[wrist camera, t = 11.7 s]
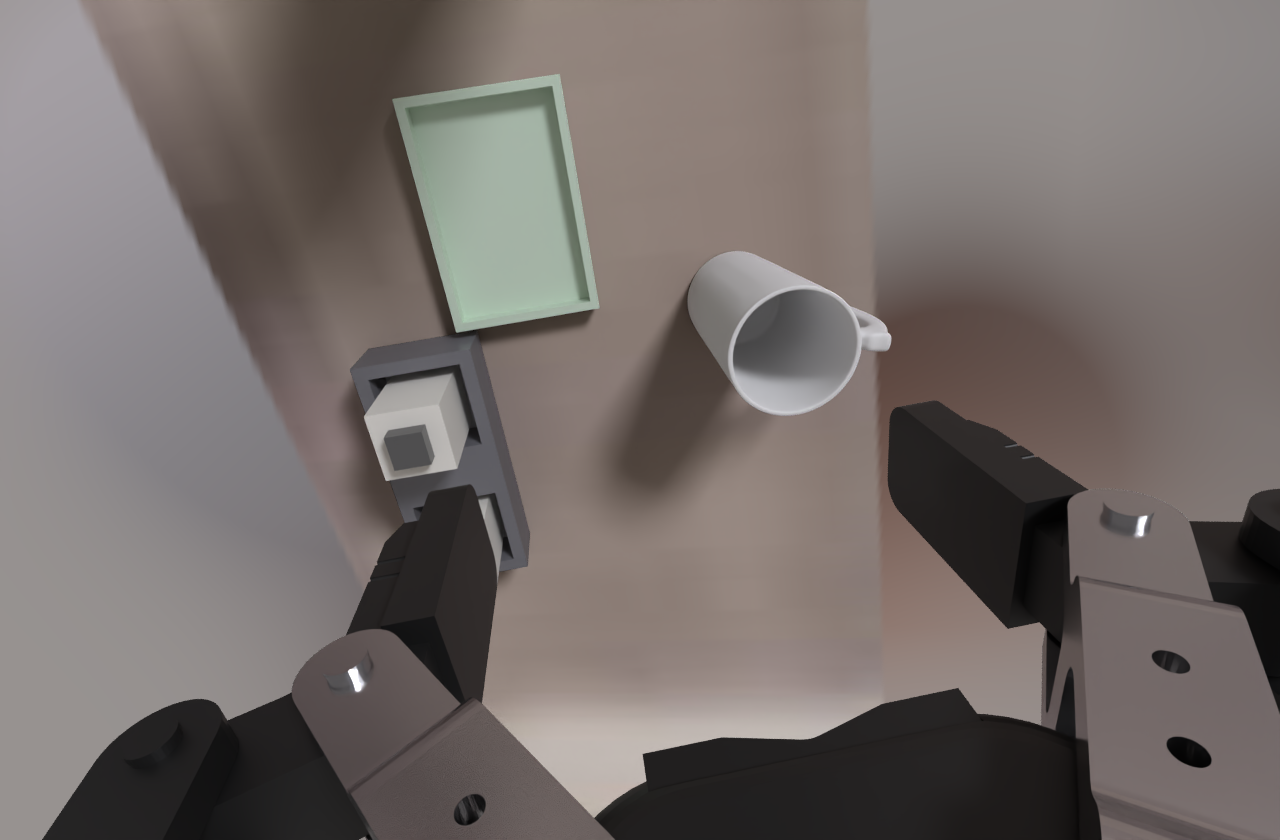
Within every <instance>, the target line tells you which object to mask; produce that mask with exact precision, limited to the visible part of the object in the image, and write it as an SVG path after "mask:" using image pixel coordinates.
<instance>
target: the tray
mask: <svg viewBox="0 0 1280 840" xmlns="http://www.w3.org/2000/svg"><path fill="white" fill-rule="evenodd" d="M392 100H393V104H394V108H395V111H396V115H397V119H398V122H399V126H400V129H401V133H402V137H403V140H404V144H405V148H406V151H407V155H408V159H409V162H410V166H411V170H412V173H413V177H414V180H415V184H416V188H417V191H418V195H419V199H420V202H421V206H422V210H423V213H424V217H425V221H426V224H427V228H428V231H429V235H430V239H431V242H432V246H433V250H434V253H435V257H436V261H437V264H438V268H439V272H440V275H441V279H442V282H443V286H444V290H445V293H446V297H447V301H448V304H449V308H450V312H451V315H452V319H453V322H454V326H455V330H456V333H457V332H463V331H469V330H474V329H480V328H486V327H492V326H498V325H504V324H510V323H516V322H521V321H527V320H533V319H539V318H545V317H551V316H557V315H563V314H568V313H574V312H580V311H586V310H592V309H598V308H599V302H598V296H597V290H596V284H595V278H594V273H593V267H592V261H591V255H590V249H589V243H588V238H587V232H586V226H585V220H584V214H583V208H582V202H581V197H580V191H579V185H578V179H577V173H576V167H575V161H574V156H573V150H572V144H571V138H570V132H569V126H568V120H567V115H566V109H565V103H564V97H563V91H562V85H561V80H560V74H556V75H550V76H543V77H536V78H529V79H523V80H516V81H509V82H503V83H496V84H489V85H482V86H476V87H469V88H462V89H456V90H449V91H442V92H436V93H429V94H422V95H415V96H409V97H402V98H395V99H392Z"/></svg>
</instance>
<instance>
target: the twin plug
mask: <svg viewBox="0 0 1280 840" xmlns="http://www.w3.org/2000/svg"><path fill="white" fill-rule="evenodd" d="M477 498H478V501H479V504H480V508H481V511H482V515H483V518H484V522H485V525H486V528H487V532H488V535H489V539H490V542H491V545H492V549H493V552H494V557H495V562H496V569H497V583H498V575H499V568H500V560H501V552H502V545H503V537H504V530H505V529H504V525H503V522H502V518H501V515H500V511H499V507H498V504H497V500H496V497H495V493H492V494H486V495H481V496H477Z"/></svg>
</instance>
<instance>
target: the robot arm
mask: <svg viewBox="0 0 1280 840" xmlns="http://www.w3.org/2000/svg"><path fill="white" fill-rule="evenodd" d="M888 487H889V491H890V495H891V498H892V500H893V502H894V505H895V506H896V508H897V509H898V510H899V512H900V513H901V514H902V515H903V516H904V517H905V518H906V519H907V520H908V522H909V523H910V524H911V525H912V526H913V527H914V528H915V529H916V530H917V531H918V532H919V533H920V534H921V535H922V537H923V538H924V539H925V540H926V541H927V542H928V543H929V544H930V545H931V546H932V547H933V549H935V551H936V552H937V553H938V554H939V555H940V556H941V557H942V558H943V559H944V560H945V561H946V563H947V564H948V565H949V566H950V567H951V568H952V569H953V570H954V571H955V572H956V573H957V574H958V576H959V577H960V578H961V579H962V580H963V581H964V582H965V583H966V584H967V585H968V586H969V587H970V588H971V590H973V592H974V593H975V594H976V595H977V596H978V597H979V598H980V599H981V600H982V601H983V603H984V604H985V605H986V606H987V607H988V608H989V609H990V610H991V611H992V612H993V613H994V614H995V615H996V616H997V618H998V619H999V620H1000V621H1001V622H1002V623H1003V624H1004V625H1005V626H1006V627H1007V628H1008V629H1009V628H1013V627H1018V626H1023V625H1028V624H1033V623H1037V622H1040V623H1041V624H1042V625H1043V626H1044V627H1045V628H1046V629H1045V635H1044V641H1043V646H1042V705H1041V706H1042V707H1041V725H1038V724H1034V723H1031V722H1027V721H1023V720H1018V719H1014V718H1010V717H1003V716H995V715H988V714H977V713H976V712H975V710H974V709H973V708H972V706H971V705H970V704H969V702H968V701H967V700H966V698H965V697H964V695H963V694H962V693H961V691H960V690H959V689H958V688H956V689H952V690H947V691H943V692H937V693H933V694H928V695H923V696H918V697H913V698H909V699H904V700H899V701H894V702H889V703H885V704H881V705H879V706H877V707H875V708H873V709H871V710H869V711H867V712H865V713H863V714H861V715H859V716H857V717H855V718H853V719H852V720H850V721H848V722H846V723H844V724H842V725H840V726H838V727H836V728H834V729H832V730H830V731H828V732H826V733H824V734H822V735H820V736H817V737H815V738H812V739H805V740H795V739H758V738H717V739H712V740H708V741H703V742H698V743H693V744H689V745H684V746H679V747H674V748H669V749H665V750H660V751H655V752H650V753H645V754H643V759H644V766H645V773H646V780H647V781H646V782H644V783H642V784H640V785H638V786H636V787H634V788H633V789H631V790H629V791H628V792H626V793H625V794H623V795H622V796H620V797H619V798H617V799H616V800H614V801H613V802H612V803H611V804H610V805H608V806H607V807H606V808H605V809H604V810H602V811H601V812H600V813H599V814H598V815H597V816H596V817H595V818H593V817H592V816H591V815H590V814H589V813H588V812H587V810H586V809H585V808H584V807H583V806H582V805H581V804H580V803H579V802H578V801H577V800H576V799H575V798H574V797H573V796H572V795H571V794H570V793H569V792H568V791H567V790H566V789H565V788H564V787H563V786H562V785H561V784H560V783H559V782H558V781H557V780H556V779H555V778H554V777H553V776H552V775H551V774H550V773H549V772H548V771H547V770H546V769H545V768H544V767H543V766H542V765H541V764H540V762H539V761H538V760H537V759H536V758H535V757H534V756H533V755H532V754H531V753H530V752H529V751H528V750H527V749H526V748H525V747H524V746H523V745H522V744H521V743H520V742H519V741H518V740H517V739H516V738H515V737H514V736H513V735H512V734H511V733H510V732H509V731H508V730H507V729H506V728H505V727H504V726H503V725H502V724H501V723H500V722H499V721H498V720H497V719H496V718H495V717H494V716H493V714H492V713H491V712H490V711H489V710H488V709H487V708H486V707H485V706H484V705H483V704H482V697H483V690H484V682H485V675H486V667H487V659H488V652H489V644H490V636H491V629H492V621H493V613H494V606H495V598H496V590H497V569H496V562H495V557H494V552H493V549H492V545H491V542H490V539H489V535H488V532H487V528H486V525H485V522H484V518H483V515H482V511H481V508H480V504H479V501H478V498H477V495H476V492H475V490H474V488H473V486H472V485H471V484H468V485H462V486H457V487H451V488H446V489H441V490H435V491H430V492H429V493H428V496H427V498H426V501H425V504H424V507H423V510H422V512H421V515H420V518H419V520H418V521H413V522H407V523H404V524H403V525H402V526H401V527H400V528H399V529H398V530H397V531H396V532H395V533H394V534H393V535H392V536H391V537H390V538H389V539H388V540H387V541H386V542H385V544H384V547H383V549H382V551H381V554H380V556H379V558H378V561H377V564H378V565H376V566H375V568H374V570H373V573H372V575H371V577H370V579H371V582H368V584H367V587H366V589H365V591H364V594H363V596H362V599H361V601H360V603H359V606H358V608H357V611H356V613H355V615H354V617H353V620H352V622H351V625H350V627H349V629H348V632H347V634H346V636H344V637H341V638H339V639H337V640H335V641H333V642H332V643H330V644H328V645H327V646H325V647H324V648H323V649H321V650H320V651H318V652H317V653H316V654H314V655H313V656H312V657H311V658H310V659H309V660H308V661H307V662H306V663H305V665H304V666H303V667H302V668H301V669H300V671H299V673H298V674H297V676H296V678H295V680H294V682H293V686H292V693H290V694H288V695H286V696H284V697H282V698H280V699H277V700H275V701H273V702H270V703H268V704H265V705H263V706H261V707H258V708H256V709H254V710H251V711H249V712H247V713H244V714H242V715H240V716H237V717H235V718H233V719H230V720H228V721H227V719H226V718H225V716H224V714H223V713H222V711H221V709H220V708H219V706H218V705H216V703H214V702H212V701H209V700H204V699H193V700H188V701H183V702H179V703H176V704H173V705H170V706H168V707H165V708H163V709H161V710H159V711H157V712H154V713H152V714H151V715H149V716H147V717H145V718H144V719H142V720H140V721H139V722H137V723H136V724H134V725H133V726H131V727H130V728H129V729H127V730H126V731H125V732H124V733H122V734H121V735H120V736H119V737H118V738H116V739H115V740H114V741H113V742H112V743H111V744H110V745H109V746H108V747H107V748H106V749H105V750H104V752H103V753H102V754H101V755H100V756H99V758H98V759H97V760H96V761H95V763H94V764H93V766H92V767H91V769H90V770H89V771H88V773H87V774H86V776H85V777H84V779H83V780H82V782H81V783H80V785H79V786H78V788H77V789H76V791H75V792H74V794H73V795H72V797H71V798H70V799H69V801H68V802H67V804H66V805H65V807H64V808H63V810H62V811H61V813H60V814H59V816H58V817H57V818H56V820H55V822H54V823H53V825H52V826H51V828H50V829H49V830H48V832H47V834H46V835H45V836H44V838H43V839H42V840H359V839H361V838H363V837H365V838H366V840H1280V489H1273V490H1266V491H1262V492H1259V493H1257V494H1255V495H1253V496H1252V497H1251V498H1250V500H1249V503H1248V506H1247V509H1246V512H1245V515H1244V518H1243V521H1242V522H1198V521H1188V519H1187V518H1186V517H1185V515H1184V514H1183V513H1181V512H1180V511H1179V510H1178V509H1176V508H1175V507H1173V506H1172V505H1170V504H1168V503H1165V502H1164V501H1162V500H1159V499H1156V498H1154V497H1151V496H1148V495H1144V494H1141V493H1137V492H1133V491H1127V490H1120V489H1092V490H1088V489H1086V488H1085V487H1083V486H1082V485H1080V484H1079V483H1077V482H1076V481H1074V480H1073V479H1071V478H1070V477H1068V476H1067V475H1065V474H1064V473H1062V472H1061V471H1059V470H1057V469H1056V468H1054V467H1053V466H1051V465H1050V464H1048V463H1047V462H1045V461H1044V460H1042V459H1041V458H1039V457H1034V454H1033V453H1031V452H1030V451H1028V450H1027V449H1025V448H1024V447H1022V446H1017V443H1016V442H1015V441H1013V440H1011V439H1010V438H1009V437H1007V436H1006V435H1004V434H1002V433H1001V432H1000V431H998V430H996V429H993V428H990V427H988V426H985V425H982V424H979V423H976V422H973V421H970V420H965V419H964V418H962V417H961V416H959V415H958V414H956V413H955V412H953V411H952V410H950V409H949V408H948V407H946V406H944V405H943V404H942V403H940V402H938V401H928V402H923V403H917V404H912V405H906V406H901V407H897V408H895V409H894V410H893V411H892V413H891V416H890V427H889V455H888Z"/></svg>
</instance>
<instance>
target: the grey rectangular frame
mask: <svg viewBox="0 0 1280 840" xmlns="http://www.w3.org/2000/svg"><path fill="white" fill-rule="evenodd" d="M452 365H458V367H459V371H460V375H461V378H462V382H463V386H464V390H465V394H466V397H467V401H468V405H469V409H470V412H471V416H472V421H471V425H470V428H469V431H468V435H467V438H466V441H465V445H464V448H463V451H462V455H461V458H460V461H459V465H458V468H457V469H453V470H447V471H441V472H436V473H430V474H424V475H418V476H412V477H406V478H401V479H395V480H390V483H391V486H392V489H393V492H394V494H395V497H396V500H397V503H398V506H399V508H400V511H401V514H402V517H403V519H404V522H405V523H407V522H413V521H418V520H419V518H420V515H421V512H422V510H423V507H424V504H425V501H426V498H427V496H428V493H429V492H430V491H435V490H441V489H446V488H451V487H457V486H462V485H468V484H471V485H472V486H473V488H474V490H475V492H476V495H477V496H481V495H486V494H492V493H495V497H496V500H497V504H498V507H499V511H500V515H501V518H502V522H503V525H504V529H505V530H504V537H503V545H502V552H501V560H500V568H499V572H501V571H506V570H511V569H516V568H521V567H527V566H528V556H529V541H530V532H529V528H528V524H527V520H526V516H525V512H524V509H523V505H522V501H521V497H520V493H519V489H518V485H517V482H516V478H515V474H514V470H513V466H512V462H511V458H510V455H509V451H508V447H507V443H506V439H505V435H504V431H503V428H502V424H501V420H500V416H499V412H498V408H497V404H496V401H495V397H494V393H493V389H492V385H491V381H490V377H489V374H488V370H487V366H486V362H485V358H484V354H483V351H482V347H481V343H480V339H479V335H478V331H471V332H465V333H460V334H454V335H448V336H442V337H436V338H430V339H424V340H418V341H413V342H407V343H401V344H395V345H389V346H383V347H377V348H371V349H368V350H367V351H366V352H365V353H364V354H363V356H362V357H361V358H360V359H359V360H358V361H357V362H356V363H355V364H354V366H353V367H352V368H351V369H350V372H351V375H352V377H353V380H354V383H355V386H356V389H357V391H358V394H359V397H360V400H361V402H362V405H363V408H364V411H365V414H366V413H367V411H368V410H369V408H370V407H371V405H372V404H373V403H374V401H375V400H376V398H377V397H378V395H379V394H380V393H381V391H382V390H383V388H384V387H385V385H386V384H387V383H388V381H389V380H390V378H391V377H392V376H394V375H400V374H406V373H411V372H417V371H423V370H429V369H435V368H440V367H446V366H452Z"/></svg>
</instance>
